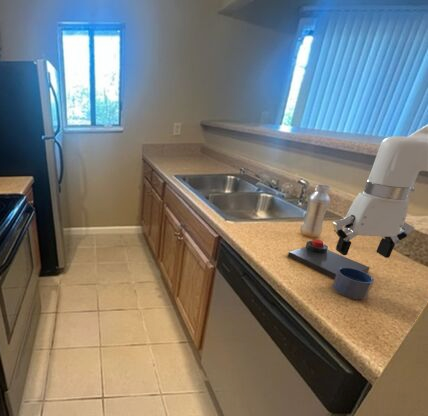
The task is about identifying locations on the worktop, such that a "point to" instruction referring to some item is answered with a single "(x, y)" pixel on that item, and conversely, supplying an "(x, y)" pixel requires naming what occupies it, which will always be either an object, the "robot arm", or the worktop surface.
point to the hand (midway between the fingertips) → (361, 253)
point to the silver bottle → (316, 211)
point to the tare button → (317, 243)
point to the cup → (352, 283)
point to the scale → (324, 260)
